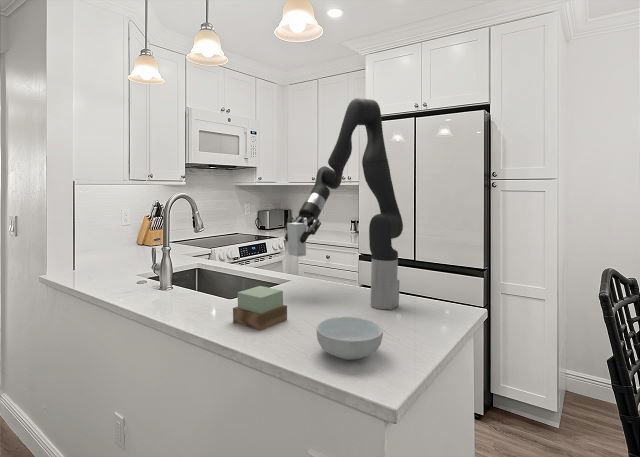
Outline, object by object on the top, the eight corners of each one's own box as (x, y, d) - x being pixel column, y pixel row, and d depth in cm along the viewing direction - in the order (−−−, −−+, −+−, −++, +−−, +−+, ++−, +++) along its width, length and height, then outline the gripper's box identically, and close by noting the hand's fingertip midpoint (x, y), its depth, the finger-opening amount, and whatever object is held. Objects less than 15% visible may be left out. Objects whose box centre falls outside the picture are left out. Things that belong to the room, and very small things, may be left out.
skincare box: (306, 255, 150) (306, 223, 149) (297, 257, 147) (296, 224, 146) (296, 253, 155) (296, 222, 153) (287, 254, 152) (286, 222, 150)
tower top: (282, 305, 129) (282, 290, 128) (261, 314, 121) (260, 297, 120) (260, 300, 134) (260, 285, 134) (237, 307, 126) (237, 292, 126)
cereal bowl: (308, 363, 98) (308, 335, 98) (325, 338, 114) (325, 314, 114) (377, 372, 94) (378, 343, 93) (385, 344, 110) (386, 319, 109)
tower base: (287, 320, 129) (287, 305, 129) (260, 331, 120) (260, 315, 119) (260, 313, 136) (259, 299, 136) (233, 323, 127) (232, 307, 126)
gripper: (293, 200, 159) (274, 233, 150) (323, 201, 151) (305, 236, 142) (301, 212, 164) (283, 245, 155) (331, 214, 155) (313, 249, 147)
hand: (293, 240), depth 149 cm, fingers closed on skincare box, 6 cm apart
